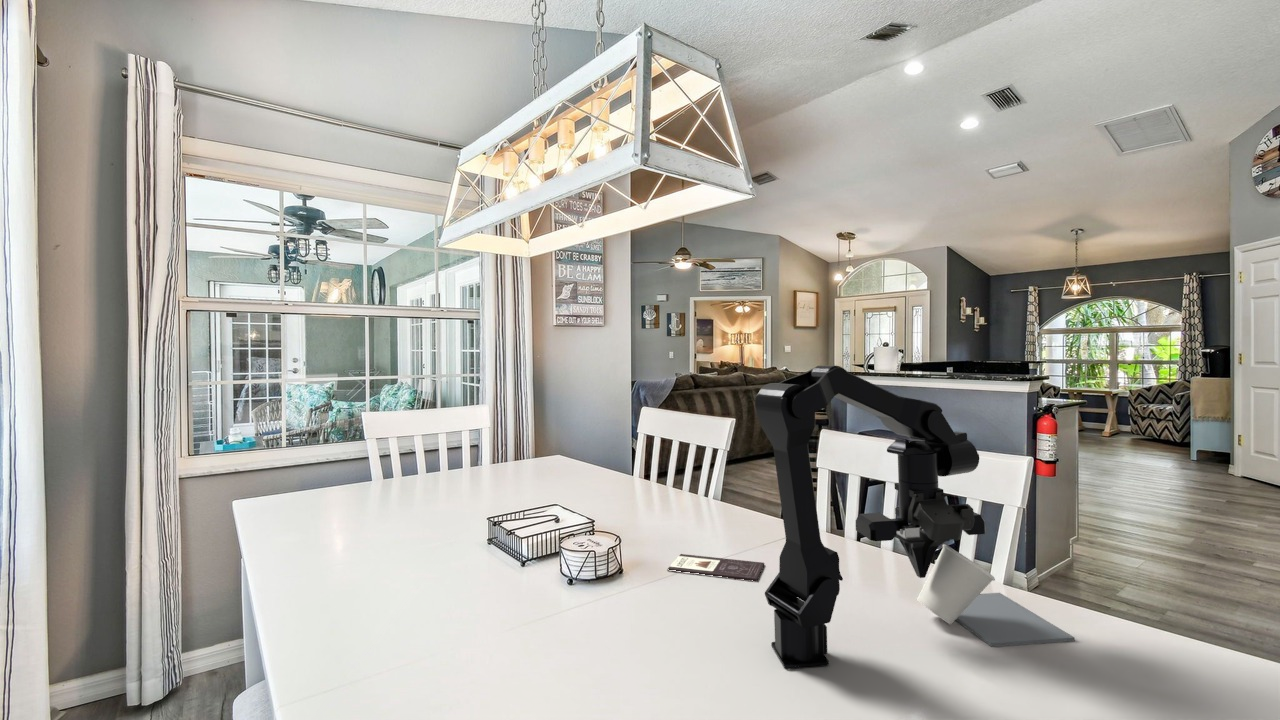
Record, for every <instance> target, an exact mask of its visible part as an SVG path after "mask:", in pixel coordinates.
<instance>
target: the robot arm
mask: <svg viewBox="0 0 1280 720" xmlns="http://www.w3.org/2000/svg"><path fill="white" fill-rule="evenodd" d="M834 398H835V399H837V400H840V401H842V402H844V403H846V404H849V405H850V406H853V407H855V408H857V409H859V410H862V411H864V412H866V413H868V414H870V415H873V416H875V417H877V418H878V419H880V421H881V423H882V424H883V426H884V427H886V428H887V429H888V430H890V431H891V432H893V433H894V434H895V435H898V436H905V437H907V438H901V437H896V438H895V440H894V442H892V443H891V444H890V445H889V446H888V447H886V453H889V454H894V455H897V470H898V471H897V472H898V474H897V475H898V478H897V479H898V482H894V490H896V491H898V502H899V503H898V504H899V505H898V506H899V507H895V509H894V510H895V515H896V516H899V517H898V518H897V517H896V518H889V516H886V515H884V514H883V513H880V512H872V513H871V512H869V513H859V514H858V515H857V517H856V519H855V531H857V533H860V534H861V535H862V536H863V537H865V538H867V539H868V540H869V541H871V542H872V541H873V542H886V541H887V542H888V541H893V540H894V539H895V538H897V539H898V541H899V542H900V544H901V546H902V547H903V550H904V552H905V554H906V555H907V557H908V559H909V562H910V563H911V566H912V568H913V570H914V573H915V574H916V576H917V577H918V578H920V579H925V578H926V576H927V574H928V570H929V568H930V566H931V563H932V560H933V558H934V555H935V554H936V552H937V549H938V548H939V547H940V546H941V545H944V543H946V542H949V541H951V540H952V541H959V540H961V538H962V535H963V532H964V533H965V534H966V535H968V536H973V535H975V536H977V535H985V534H987V533H986V531H987V529H986V527H987V526H986V525H987V524H986V521H985V519H984V517H983V516H982V515H981V514H979V513H977V512H975V511H974V508H973V507H972V506H971V505H970V504H968V503H963V504H961V503H960V504H956V505H955V504H947V501H946V496H945V495H946V494H945V493H944V489H943V488H940V487H939V477H948V476H956V475H961V474H967V473H972V472H974V471H975V470H976V469H977V468H978V466H979V463H980V454H979V452H978V450H977V448H976V446H975V445H974V443H972V442H971V441H970V440H969V439H968V434H967V432H963V431H954V430H953V428H952V427H951V425H950V424H949V422H948V420H947V419H946V417H945V416H944V414H943V409H942V407H941V406H940V405H938V404H937V403H935V402H930V401H926V400H922V399H916V398H911V397H904V396H902V395H897V394H895V393H894V392H892V391H889V390H887V389H884V388H883V387H881V386H879V385H876V384H874V383H872V382H870V381H868V380H866V379H863V378H862V377H860V376H857V375H855V374H853V373H851V372H848V371H847V369H845V368H843V367H842V366H839V365H823V364H821V365H817V366H815V367H813V368H810V370H808V371H806V372H803V373H800V374H798V375H795V376H792V377H789V378H786V379H784V380H782V381H780V382H770V383H767V384H765V385H763V386H762V387H761V388H760V389H759V392H758V393H757V394H756V395H755V398H754V407H755V411H756V414H757V418H758V421H759V425H760V427H761V429H762V431H763V432H764V434H765V436H766V438H767V439H768V440H769V442H770V444H771V446H772V450H773V455H774V463H775V470H776V478H777V484H778V490H779V491H778V492H779V500H780V507H781V512H782V521H783V527H784V534H785V543H784V545H783V548H782V550H781V552H780V555H779V561H778V562H779V565H778V566H779V571H778V573H777V574H776V576H775V577H774V579H773V580H772V581H771V583H770V584H769V586H768V587H767V588H766V590H765V591H764V596H765V599H766V601H767V604H768V606H770V607H772V608H774V610H773V612H774V613H773V615H774V616H773V617H774V618H773V619H774V621H773V622H774V623H773V624H774V641H772V642H770V643H771V648H772V650H773V651H774V653H775V655H776V656H777V657H778V659H779V661H780V663H781V665H782V667H783V668H786V669H795V668H809V667H826V666H828V665H830V660H829V659H828V658H827V654H828V627H827V625H826V624H829V623H831V620H832V617H833V613H834V610H835V609H834V608H835V606H836V602H837V599H838V598H837V597H838V596H839V594H840V589H841V587H840V581H841V582H842V581H843V580H844V579H843V576H842V574H841V571H840V557H839V553H838V552H837V551H836V550H834V549H833V550H832V549H830V548H829V547H826V546H824V543H823V542H822V539H821V532H820V526H819V519H818V511H817V503H816V496H815V487H814V481H813V480H814V479H813V474H812V467H811V466H812V465H811V459H810V452H809V442H810V439H811V437H812V434H813V431H814V429H815V427H816V413H817V412H819V411H820V410H822V409H824V408H826V407H827V406H829V404H830V403H831V402H832V400H833V399H834ZM908 438H909V439H911V441H909V439H908ZM913 440H914V441H913Z"/></svg>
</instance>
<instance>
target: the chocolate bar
mask: <svg viewBox="0 0 1280 720" xmlns="http://www.w3.org/2000/svg"><path fill="white" fill-rule="evenodd" d="M763 566H764V567H765V562H761V561H759V562H758V561H753V560H752V561H751V560H740V559H732V558H723V557H722V558H721V557H712V556H703V555H695V554H694V555H693V554H684V553H681V554H679V555H678V556H677V558H676V559H675V560H674V561H673V562H672V563H671V564H670V566H669V567H668V568H667V570H668V569H669V570H676V571H681V572H690V573H699V574H705V575H713V576H722V577H728V578H734V579H733V580H736V579H744V580H753V581H757V582H758V580H759V578H758V577H760V576H761V574H760V572H761V573H762V571H763V569H762V568H764V567H763ZM761 570H762V571H761ZM759 575H760V576H759ZM757 579H758V580H757ZM744 580H743V581H744ZM753 581H752V582H753Z"/></svg>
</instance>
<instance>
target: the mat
mask: <svg viewBox="0 0 1280 720" xmlns="http://www.w3.org/2000/svg"><path fill="white" fill-rule="evenodd" d="M955 621H957V622H958V623H959V624H960V625H962V627H963V626H964V627H965V628H966V629H967V630H969V631H970V632H971V633H973V634H974V635H975V636H977V637H978V638H979V639H981V640H982V641H983V642H985V643H986V644H987V645H988V646H990V647H1003V646H1005V647H1006V646H1016V645H1033V644H1046V643H1061V642H1074V641H1075V640H1076V639H1075V636H1073V635H1072V634H1070V633H1068V632H1067V631H1065V630H1063V629H1061V628H1060V627H1058V626H1056V625H1054V623H1051V622H1050V621H1048V620H1047V619H1045V618H1043V617H1041V616H1039V615H1038V614H1037V613H1035V612H1033V611H1032V610H1030V609H1028V608H1026V607H1024V606H1023V605H1021V604H1019V603H1018V602H1016V601H1014V600H1013V599H1011V598H1009V597H1008V596H1006V595H1005V594H1003V593H1001V592H990V593H980V594H979V595H978V596H977V597H976V598H975V599H974V600H973V602H972V603H971V604H970V605H969V606H968V607H967V608H966V609H965V610H964V611H963V612H962V613H961V614H960V616H959V617H958V618H957V619H956V620H955Z"/></svg>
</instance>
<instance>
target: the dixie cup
mask: <svg viewBox="0 0 1280 720" xmlns="http://www.w3.org/2000/svg"><path fill="white" fill-rule="evenodd" d="M994 581H996V577H994V575H992V574H991V573H990V572H988V571H987V570H986V569H984V568H982V567H981V566H980V565H978V564H977V563H975V562H974V561H973V560H971V559H970V558H968V557H966V556H965V555H963V554H962V553H960V552H959V551H957V550H956V549H954V548H952V547H951V546H949V545H948V544H942V549H941V551H940V553H939V555H938V557H937V559H936V561H935V562H934V565H933V566H932V569H931V570H930V572H929V575H928V577H927V578H926V581H925V582H924V585H923V586H922V588H921V591H920V592H919V594H918V597H917V598H916V600H917V601H918V602H919V603H920V604H921V605H922V606H924V607H925V608H926V609H928V610H929V611H930V612H931V613H933V614H934V615H935V616H937V617H938V618H940V619H941V620H943V621H945V623H947V624H949V625H950V626H951V625H952V624H953V623H954V622H955V621H956V619H957V618H958V617H959V616H960V614H961V613H962V612H963V611H964V610H965V609H966V608H967V607H968V606H969V605H970V604H971V603H972V602H973V600H974V599H975V598H976V597H977V596H978V595H979V594H982V592H983V591H984V590H986V588H987V587H988V585H990V584H991V583H992V582H994Z"/></svg>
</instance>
